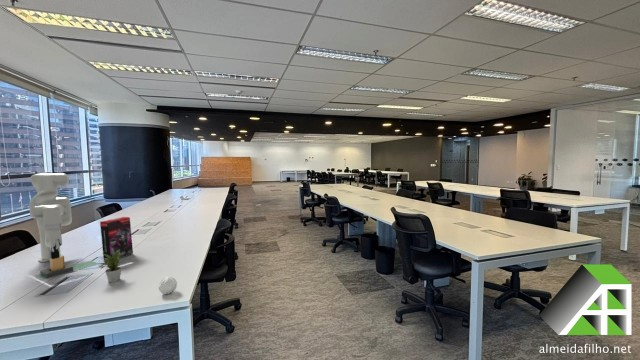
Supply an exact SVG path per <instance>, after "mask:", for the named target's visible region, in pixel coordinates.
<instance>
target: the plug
mask: <svg viewBox="0 0 640 360" xmlns="http://www.w3.org/2000/svg"><path fill="white" fill-rule="evenodd" d="M65 264H66V263H65V255H64V256H60V257H59V258H55V259H52V258H50V261H49V266H50V269H51V271H54V270H58V269H62V268H64V267H65Z"/></svg>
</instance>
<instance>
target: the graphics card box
mask: <svg viewBox="0 0 640 360" xmlns="http://www.w3.org/2000/svg"><path fill="white" fill-rule="evenodd" d="M99 226H100V236H101V245H102V246H101V247H102V256H103V257H102V259H103V258H104V259H103V261H106V260H105V259H107V257H106V256H105V255H104V254H107V255H109V256H110V257H111V258H112V257H113V253H114V252H115V253H116V252H117V251H118V250H119V251H118V254H119V253H120V255H121V256H120V255H119V257H120V258H121V257H122V258H125V257H129V256H130V255H132V254H134V250H133V237H132V227H131V218H130V217H129V216H122V217H117V218H112V219H107V220H102V221H100V222H99ZM121 253H122V254H121ZM118 254H117V257H118ZM117 257H116V258H117Z"/></svg>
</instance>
